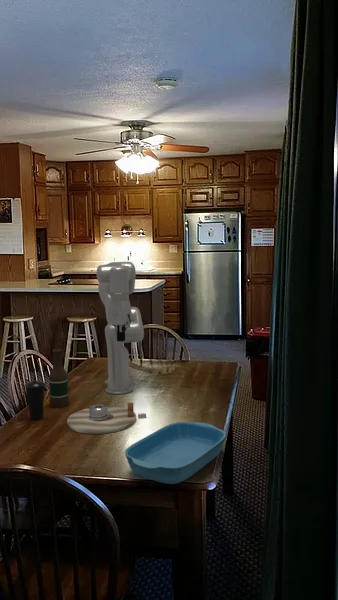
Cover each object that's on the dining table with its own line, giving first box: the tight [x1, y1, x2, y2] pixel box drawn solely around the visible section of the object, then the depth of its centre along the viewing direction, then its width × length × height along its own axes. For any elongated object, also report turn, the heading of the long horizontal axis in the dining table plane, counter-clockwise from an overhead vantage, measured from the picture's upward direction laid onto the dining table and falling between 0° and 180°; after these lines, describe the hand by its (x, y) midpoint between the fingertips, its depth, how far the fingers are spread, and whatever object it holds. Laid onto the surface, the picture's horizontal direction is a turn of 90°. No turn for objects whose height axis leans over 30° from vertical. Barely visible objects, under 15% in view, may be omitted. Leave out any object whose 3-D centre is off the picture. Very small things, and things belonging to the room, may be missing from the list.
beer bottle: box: [48, 348, 70, 409], centre depth 218 cm, size 8×8×24 cm
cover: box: [88, 403, 109, 421], centre depth 199 cm, size 8×8×4 cm
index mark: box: [137, 412, 147, 419], centre depth 203 cm, size 3×1×2 cm, turn 102°
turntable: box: [66, 401, 137, 435], centre depth 199 cm, size 26×26×6 cm
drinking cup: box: [24, 367, 46, 421], centre depth 204 cm, size 8×8×20 cm
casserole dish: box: [124, 421, 227, 485], centre depth 162 cm, size 37×22×7 cm, turn 146°
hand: (121, 340), depth 216 cm, fingers closed
